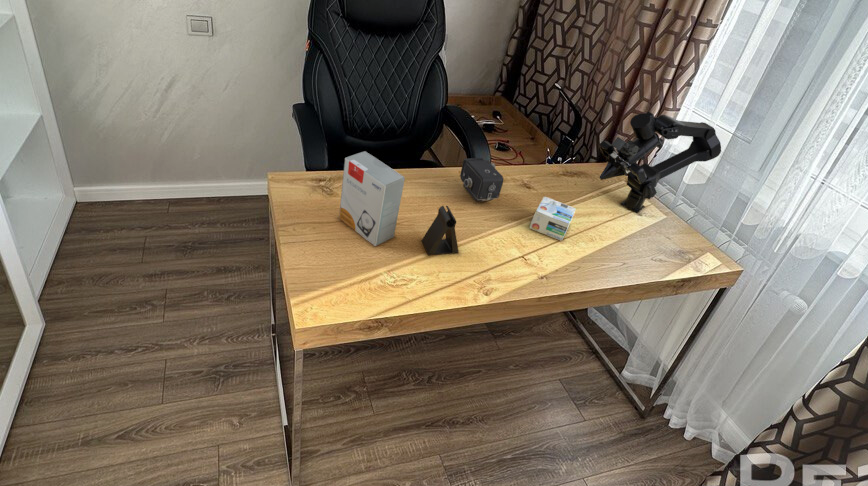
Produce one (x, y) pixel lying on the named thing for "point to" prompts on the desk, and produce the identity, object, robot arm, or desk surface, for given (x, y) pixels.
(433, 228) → the phone stand
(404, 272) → the desk surface
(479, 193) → the camera
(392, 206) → the hard drive box
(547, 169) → the desk surface
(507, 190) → the desk surface
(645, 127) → the robot arm
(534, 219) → the light bulb box
